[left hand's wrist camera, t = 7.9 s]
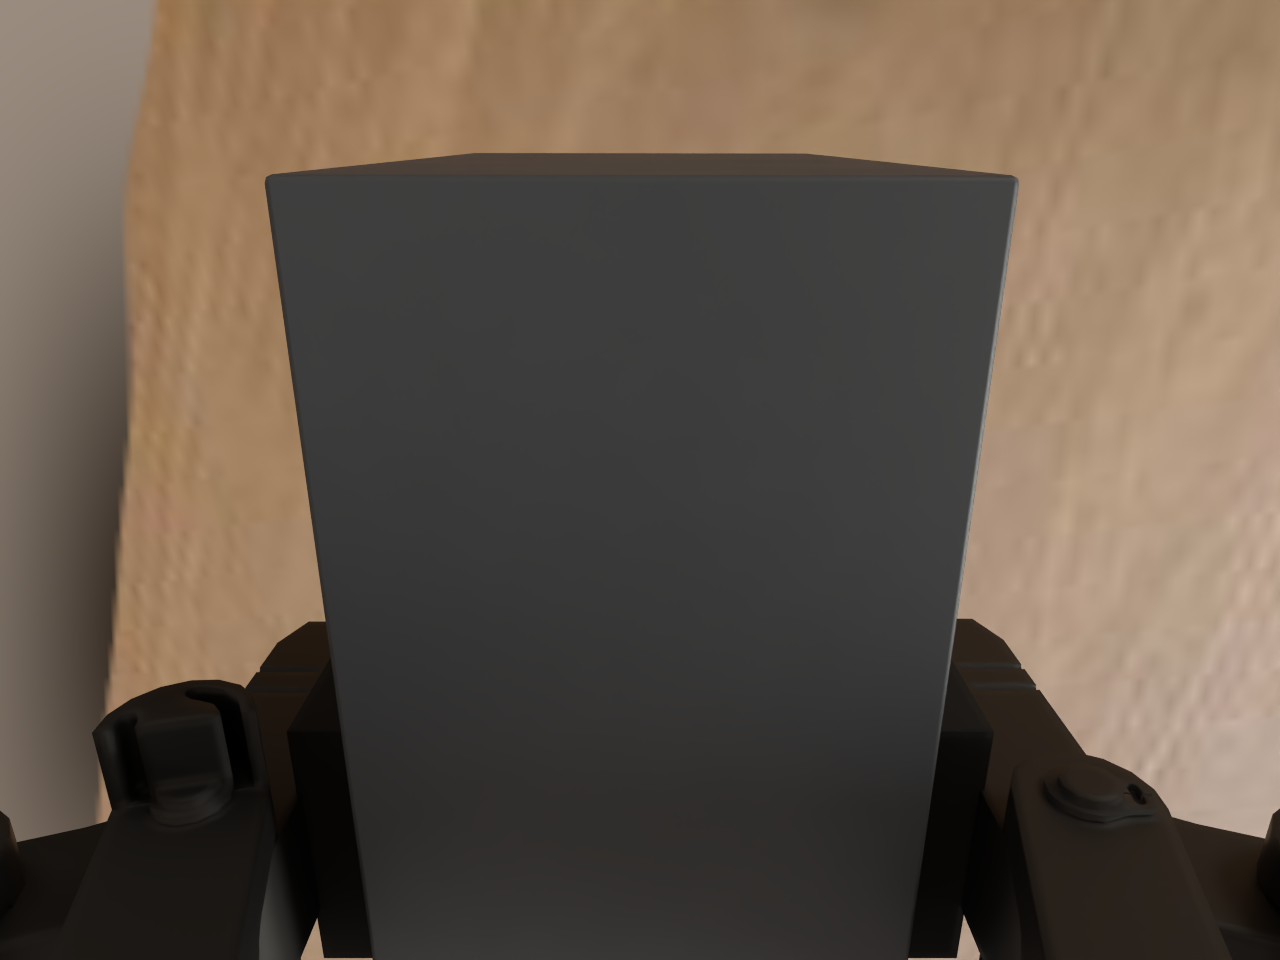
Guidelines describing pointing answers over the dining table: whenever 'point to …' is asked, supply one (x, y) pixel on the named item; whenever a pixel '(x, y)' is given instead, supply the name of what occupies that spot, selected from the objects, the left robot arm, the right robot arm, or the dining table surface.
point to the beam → (641, 536)
